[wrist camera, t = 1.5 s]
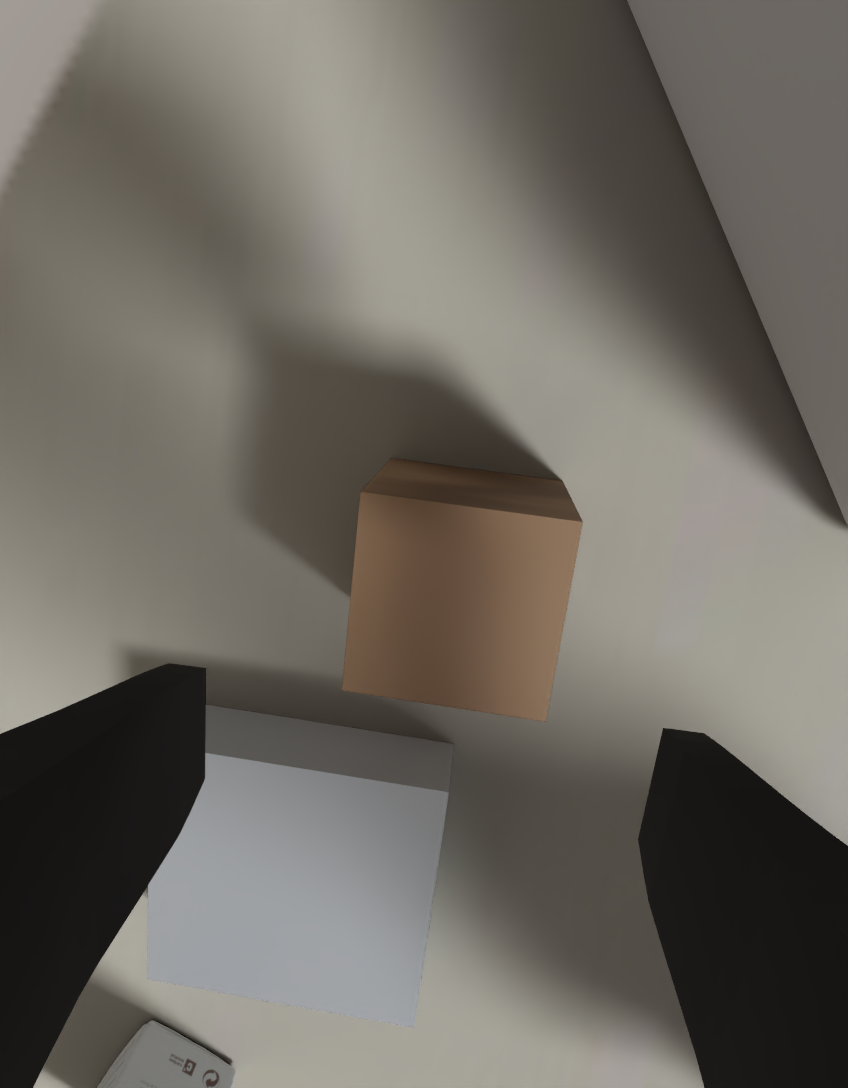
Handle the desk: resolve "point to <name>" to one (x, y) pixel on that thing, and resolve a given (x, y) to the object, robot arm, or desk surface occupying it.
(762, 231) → the radio
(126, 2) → the desk surface
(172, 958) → the stoneware block
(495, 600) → the walnut cube
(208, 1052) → the skincare box
